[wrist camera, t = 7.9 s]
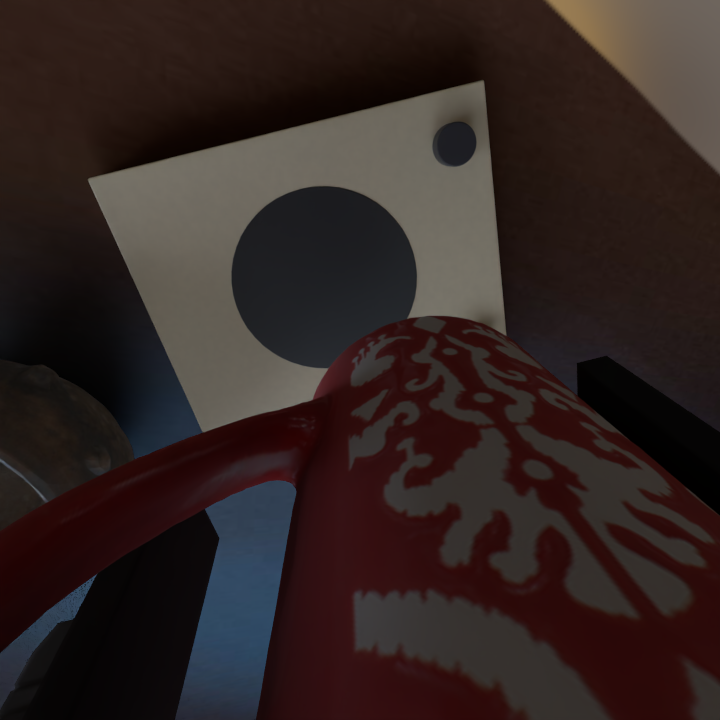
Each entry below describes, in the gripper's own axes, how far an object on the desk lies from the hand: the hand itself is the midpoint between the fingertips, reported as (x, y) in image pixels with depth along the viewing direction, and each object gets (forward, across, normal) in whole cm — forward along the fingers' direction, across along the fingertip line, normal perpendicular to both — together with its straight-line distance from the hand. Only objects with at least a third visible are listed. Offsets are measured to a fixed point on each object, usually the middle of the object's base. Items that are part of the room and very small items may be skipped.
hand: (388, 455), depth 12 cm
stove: (+17, -1, +1) cm, 17 cm away
